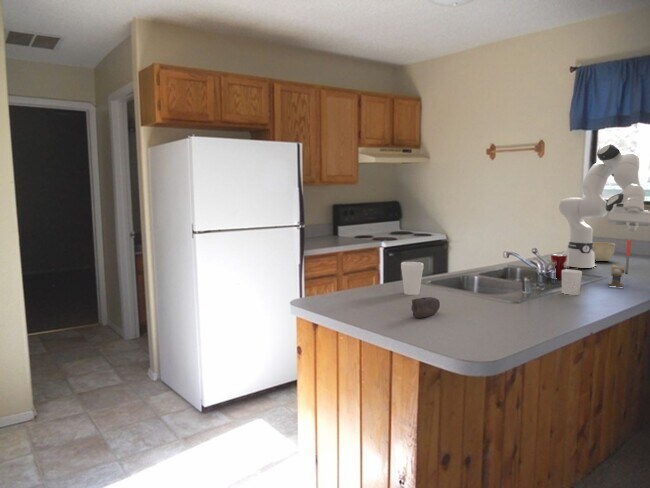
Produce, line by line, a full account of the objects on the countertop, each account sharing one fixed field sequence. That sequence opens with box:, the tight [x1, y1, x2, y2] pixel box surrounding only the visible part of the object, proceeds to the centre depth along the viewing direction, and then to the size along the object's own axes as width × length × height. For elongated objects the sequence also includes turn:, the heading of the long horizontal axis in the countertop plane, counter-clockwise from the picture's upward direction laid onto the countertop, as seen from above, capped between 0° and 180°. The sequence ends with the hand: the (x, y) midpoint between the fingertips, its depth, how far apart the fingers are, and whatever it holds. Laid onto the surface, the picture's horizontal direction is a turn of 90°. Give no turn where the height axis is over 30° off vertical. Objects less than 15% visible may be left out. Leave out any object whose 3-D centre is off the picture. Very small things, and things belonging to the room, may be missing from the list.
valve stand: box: [608, 264, 625, 288], centre depth 229 cm, size 10×6×9 cm, turn 150°
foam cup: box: [400, 261, 425, 296], centre depth 213 cm, size 10×9×13 cm
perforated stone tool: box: [410, 296, 441, 319], centre depth 178 cm, size 15×5×7 cm, turn 129°
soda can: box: [550, 253, 568, 281], centre depth 246 cm, size 7×7×12 cm
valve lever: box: [624, 239, 632, 275], centre depth 226 cm, size 2×2×16 cm
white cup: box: [561, 268, 583, 295], centre depth 212 cm, size 8×8×10 cm
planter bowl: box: [592, 241, 616, 262], centre depth 301 cm, size 16×16×11 cm
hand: (631, 230), depth 234 cm, fingers closed
